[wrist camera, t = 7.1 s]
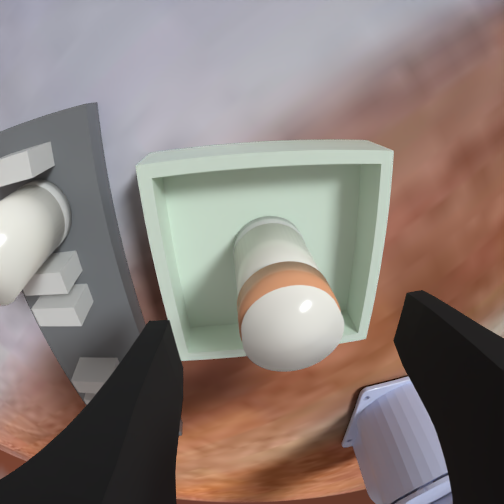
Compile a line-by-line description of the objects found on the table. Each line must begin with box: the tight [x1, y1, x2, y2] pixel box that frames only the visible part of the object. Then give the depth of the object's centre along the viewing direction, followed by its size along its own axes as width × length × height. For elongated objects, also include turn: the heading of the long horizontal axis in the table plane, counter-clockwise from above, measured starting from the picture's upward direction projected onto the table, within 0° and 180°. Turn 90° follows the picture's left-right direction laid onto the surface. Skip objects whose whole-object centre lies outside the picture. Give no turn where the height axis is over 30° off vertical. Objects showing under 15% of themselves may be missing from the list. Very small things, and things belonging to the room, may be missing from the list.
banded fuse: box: [233, 216, 344, 371], centre depth 11 cm, size 3×3×6 cm
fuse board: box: [0, 102, 183, 436], centre depth 14 cm, size 21×6×3 cm, turn 3°
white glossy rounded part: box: [0, 179, 72, 306], centre depth 9 cm, size 3×3×4 cm
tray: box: [135, 140, 394, 361], centre depth 13 cm, size 9×9×2 cm
